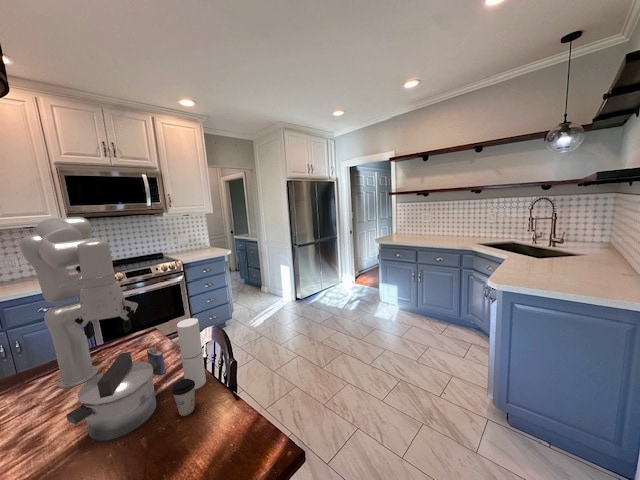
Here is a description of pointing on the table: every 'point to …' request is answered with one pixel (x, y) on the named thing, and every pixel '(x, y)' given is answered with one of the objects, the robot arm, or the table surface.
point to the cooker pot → (118, 413)
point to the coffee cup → (184, 396)
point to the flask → (156, 359)
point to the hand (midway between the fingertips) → (109, 333)
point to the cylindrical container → (191, 351)
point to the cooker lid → (116, 381)
